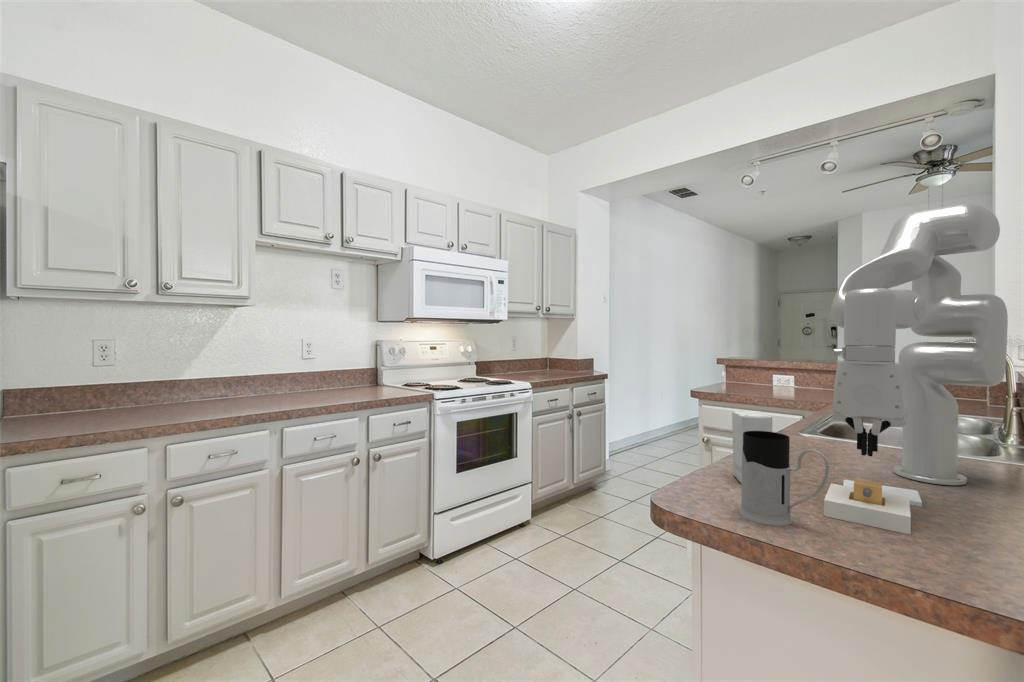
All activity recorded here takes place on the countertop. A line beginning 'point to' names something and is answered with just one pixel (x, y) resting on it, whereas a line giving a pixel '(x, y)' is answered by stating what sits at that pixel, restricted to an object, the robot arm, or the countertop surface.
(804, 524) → the countertop surface
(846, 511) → the socket
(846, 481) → the external hard drive
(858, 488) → the plug
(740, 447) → the skincare box
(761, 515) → the glass holder
